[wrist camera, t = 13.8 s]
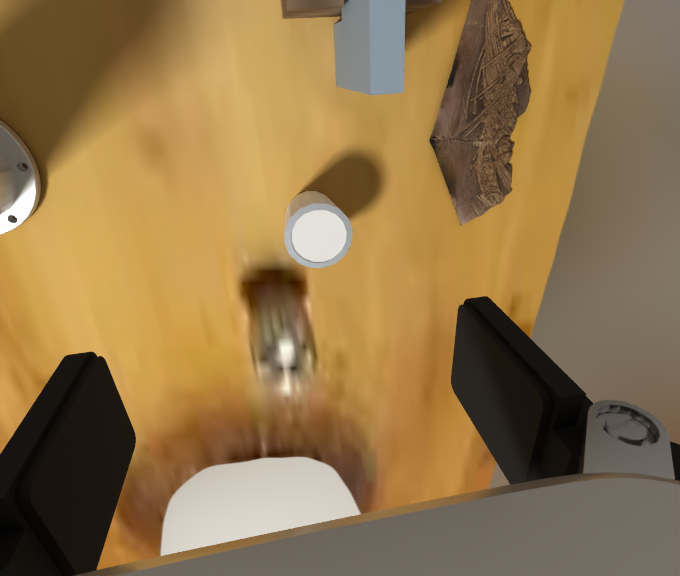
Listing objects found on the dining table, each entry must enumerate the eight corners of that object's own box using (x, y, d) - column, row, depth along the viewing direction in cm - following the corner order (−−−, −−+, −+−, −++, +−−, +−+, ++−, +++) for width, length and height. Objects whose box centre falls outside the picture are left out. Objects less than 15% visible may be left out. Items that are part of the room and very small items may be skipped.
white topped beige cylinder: (336, 179, 46) (348, 197, 40) (344, 237, 49) (356, 261, 43) (274, 191, 45) (277, 210, 39) (286, 248, 48) (291, 274, 42)
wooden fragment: (503, 220, 52) (508, 223, 51) (420, 227, 50) (423, 230, 50) (549, -36, 40) (556, -38, 39) (441, -38, 38) (446, -41, 37)
